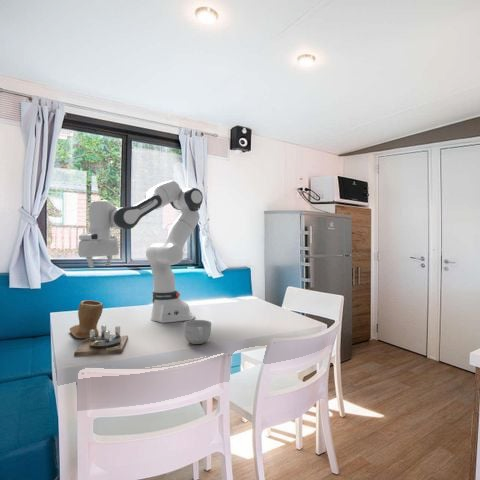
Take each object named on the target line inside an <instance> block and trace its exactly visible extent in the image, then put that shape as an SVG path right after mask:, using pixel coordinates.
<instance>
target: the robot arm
mask: <svg viewBox="0 0 480 480" xmlns="http://www.w3.org/2000/svg"><path fill="white" fill-rule="evenodd" d="M144 198H145V199H143V200H142V201H140V202H138V203H137V204H135V205H132V206H123V207H117V206H116V205H113V204H112V203H110V202H109V201H108V200H106V199H102V200H95V201H93V202H91V203H90V204H89V208H88V221H89V226H88V231H87V232H84V233H83V234H80V235H78V239H79V242H78V248H77V251H78V256H79V258H85V259H86V261H87V263H88V267H89V268H95V263H94V262H93V258H94V257H95V258H96V257H106V261H104V263H105V266H111V262H112V259H113V256H118V255H119V252H120V251H119V243H118V238H117V237H116V236H115V235H111V229H115V230H120V229H121V230H130V229H133V228H135V226H136V225H138V224H139V222H140V221H141V219H142V218H143V217H145V216H147V215H148V214H150V213H151V212H153V211H154V210H159V209H161V208H163V207H165V206H167V205H168V204H170V205H171V207H172V208H173V209H175V210H178V211H180V213H179V215H178V217H176V219H175V220H174V222H173V223H171V224H172V225H171V226H170V227H169V228H168V230H167V236H166V239H165V241H164V242H163V243H157V242H156V243H154V244H151V245H150V246H148V247H147V248H146V251H145V256H146V259H147V260H148V262H149V265H150V269H151V273H152V288H153V289H152V290H153V291H152V293H151V295H152V296H151V297H152V299H151V301H152V310H151V315H150V317H149V318H150V320H151V321H152V322H159V323H163V324H164V323H175V322H183V321H184V322H186V321H189V320H195V314H194V313H193V312H191V309H190V306H189V304H188V302H186V301H184V300H182V299H181V298H180V296H181V293H180V292H179V290H178V291H177V290H176V277H175V275H176V274H174V273H173V269H172V268H171V267H172V266H173V265H174V266H175V265H177V264H179V263H181V262H182V261H183V258H184V252H183V249H184V247H185V244H186V242H187V240H189V237H190V236H191V234H192V233H193V231H194V230H195V228H196V226H197V225H198V222H199V221H200V214H199V212H198V211H199V210H200V209H201V206H202V203H203V198H204V196H203V193H202V191H201V190H200V189H199V188H196V187H189V188H188V187H187V188H183V189H181V186H180V185H179V183H178V182H176V181H175V180H167V181H164V182H161V183H159V184H157V185H155V186H152V187H151V188H150V189H149V190H148V191H146V193H145V195H144Z"/></svg>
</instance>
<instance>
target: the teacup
mask: <svg viewBox="0 0 480 480" xmlns="http://www.w3.org/2000/svg"><path fill="white" fill-rule="evenodd" d="M211 331H212V322H211V321H209V320H204V319H192V320H185V321H184V332H183V333H184V338H185V340H186V341H187V342H188V343H189V344H193V345H200V344H201V345H202V344H205V343H206V342H207V341H208V340H209V339H210V338H211V334H212V333H211Z"/></svg>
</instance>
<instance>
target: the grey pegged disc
mask: <svg viewBox="0 0 480 480" xmlns="http://www.w3.org/2000/svg"><path fill="white" fill-rule="evenodd" d="M100 326H101V327H100V333H101V335H98V336H95V330H90V346H91V347H93V348H106V347H112V346H115V345H117V344H119V343H120V342H121V337H120V336H121V326H118V325H117V326H115V327H114V334H111V333H110V332H111V331H110V330H107V325H106V324H104V325H100Z"/></svg>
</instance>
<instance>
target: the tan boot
mask: <svg viewBox="0 0 480 480" xmlns="http://www.w3.org/2000/svg"><path fill="white" fill-rule="evenodd" d="M103 309H104V304H103V303H102V302H100V301H96V300H89V299H87V300H86V299H84V300H82V301H80V303H79V305H78V312H77V318H78V321H79V324H77V325H73V326H71V327H70V328H69V332H70V333H71V334H72V336H73V337H74V338H76V339H86V338H90V330H95V337H97V336H100V335H99V333H100V332H99V330H98V323H99V320H100V319H101V316H102V314H103Z"/></svg>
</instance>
